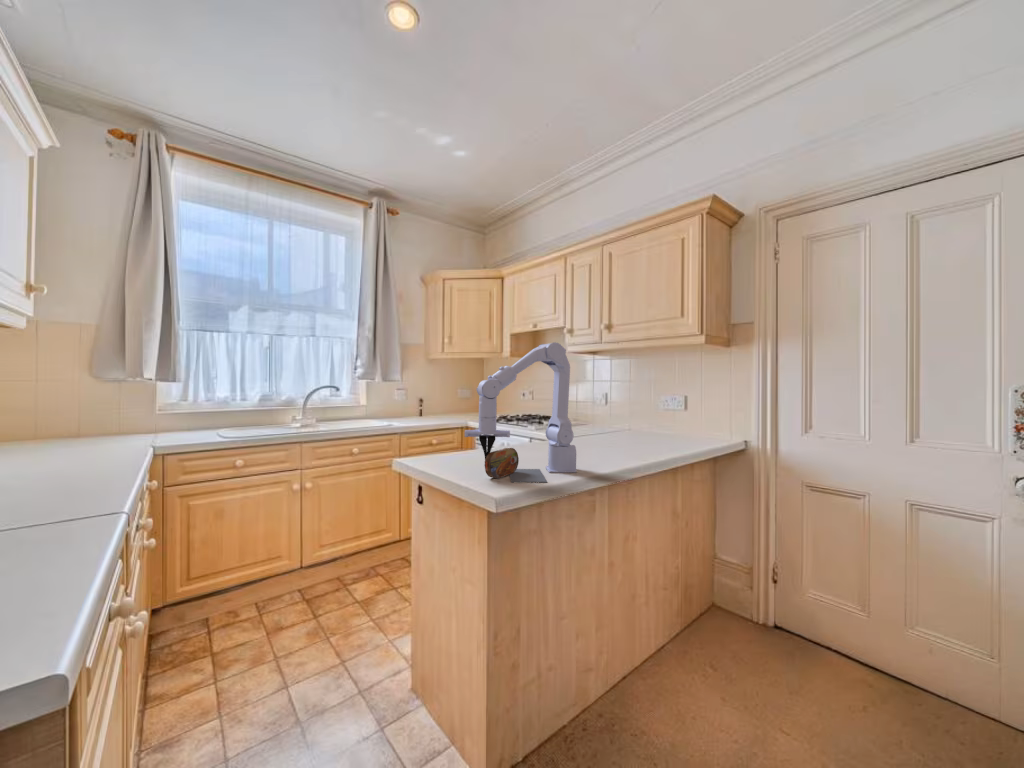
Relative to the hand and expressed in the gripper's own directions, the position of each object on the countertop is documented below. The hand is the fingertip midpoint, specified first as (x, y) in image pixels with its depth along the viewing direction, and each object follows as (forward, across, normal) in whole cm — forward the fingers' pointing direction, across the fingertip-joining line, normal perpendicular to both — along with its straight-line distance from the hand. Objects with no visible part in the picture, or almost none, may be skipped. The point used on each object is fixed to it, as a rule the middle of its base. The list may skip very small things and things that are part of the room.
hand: (486, 459), depth 133 cm
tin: (+5, -5, 0) cm, 7 cm away
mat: (+5, -13, 0) cm, 14 cm away
